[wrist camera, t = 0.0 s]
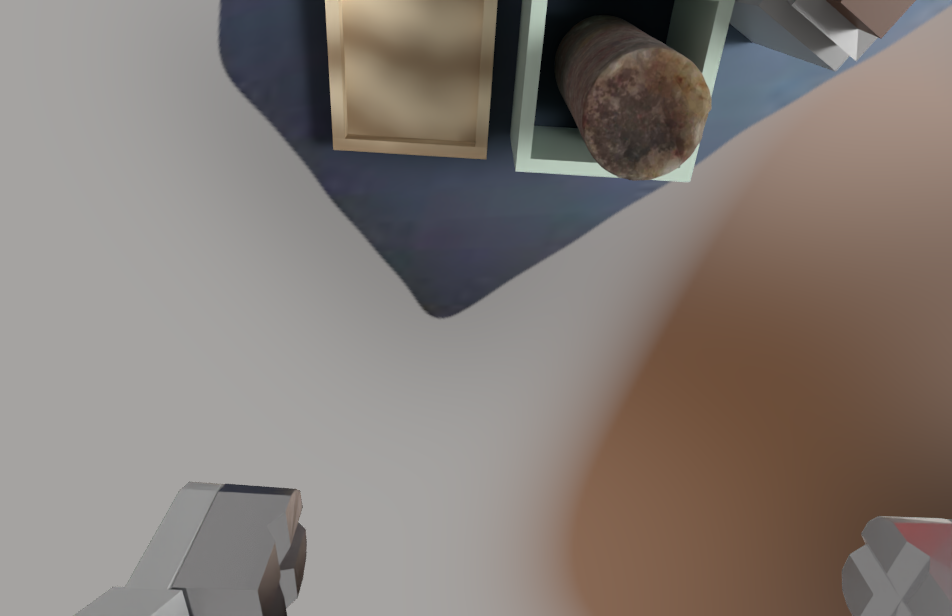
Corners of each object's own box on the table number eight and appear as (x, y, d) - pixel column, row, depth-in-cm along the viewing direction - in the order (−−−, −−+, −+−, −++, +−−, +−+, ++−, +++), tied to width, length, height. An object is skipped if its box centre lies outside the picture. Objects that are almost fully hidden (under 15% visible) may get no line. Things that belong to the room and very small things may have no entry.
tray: (328, -71, 46) (320, -72, 44) (500, -59, 46) (501, -59, 44) (339, 141, 54) (333, 149, 52) (486, 151, 54) (486, 159, 52)
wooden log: (533, 81, 51) (559, 147, 34) (579, -7, 48) (634, 18, 31) (609, 123, 53) (671, 206, 36) (659, 41, 50) (754, 90, 32)
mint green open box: (525, -34, 47) (534, -30, 38) (692, -22, 47) (738, -16, 39) (509, 135, 54) (515, 171, 45) (656, 144, 54) (690, 182, 45)
